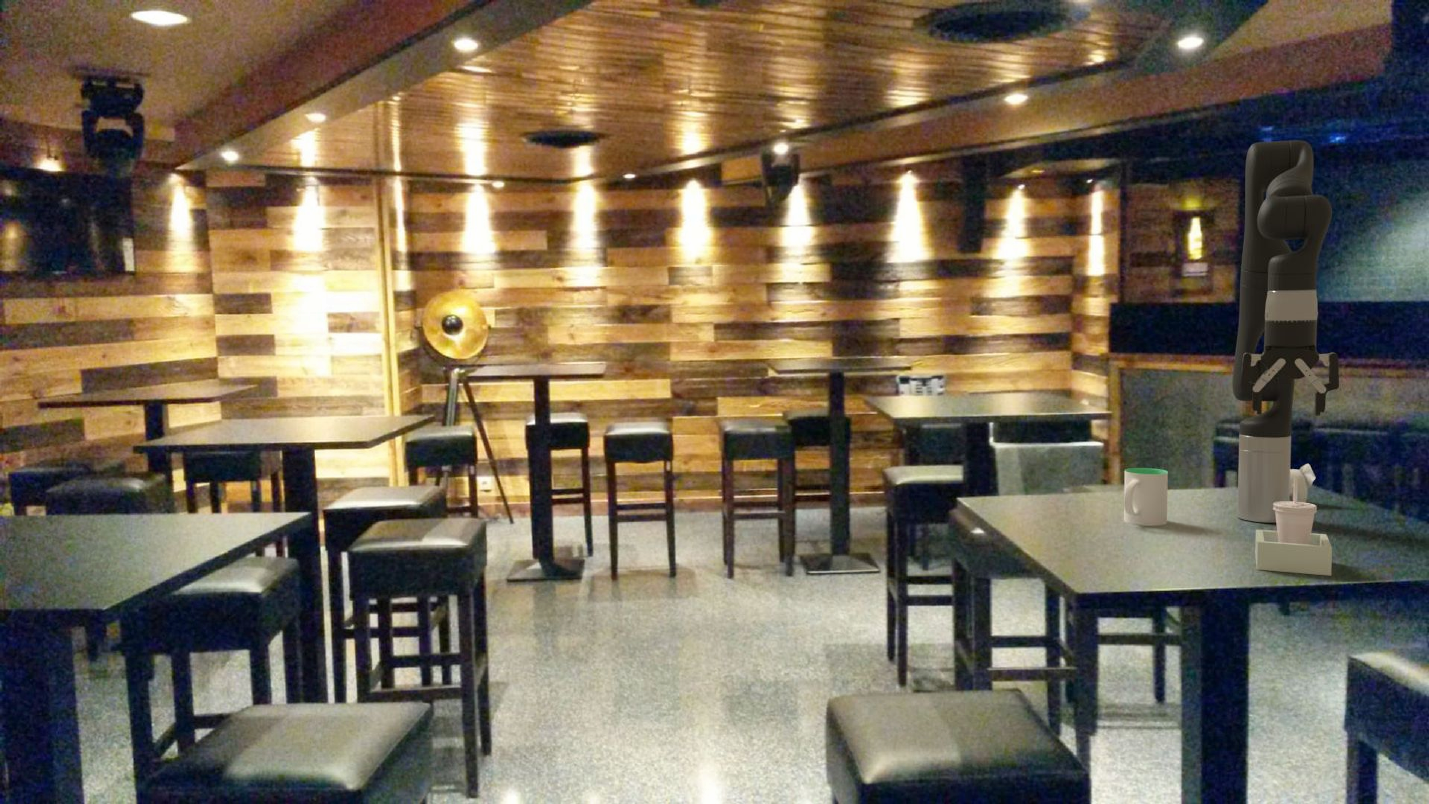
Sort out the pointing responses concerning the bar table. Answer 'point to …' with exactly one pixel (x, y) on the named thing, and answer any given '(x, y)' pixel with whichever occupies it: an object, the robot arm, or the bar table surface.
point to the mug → (1145, 496)
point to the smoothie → (1294, 519)
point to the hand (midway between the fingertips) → (1287, 414)
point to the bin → (1293, 554)
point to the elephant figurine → (1301, 482)
